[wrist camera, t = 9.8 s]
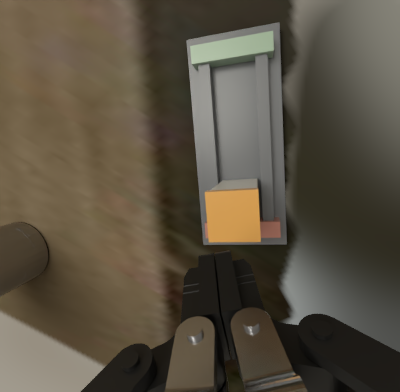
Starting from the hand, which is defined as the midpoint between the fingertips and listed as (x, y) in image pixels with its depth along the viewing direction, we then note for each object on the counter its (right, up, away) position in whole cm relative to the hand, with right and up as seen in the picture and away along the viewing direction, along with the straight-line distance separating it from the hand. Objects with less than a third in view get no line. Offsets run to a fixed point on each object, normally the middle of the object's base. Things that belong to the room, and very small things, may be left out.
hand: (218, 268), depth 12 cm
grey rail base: (+4, +10, +19) cm, 22 cm away
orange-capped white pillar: (+4, +3, +18) cm, 19 cm away
